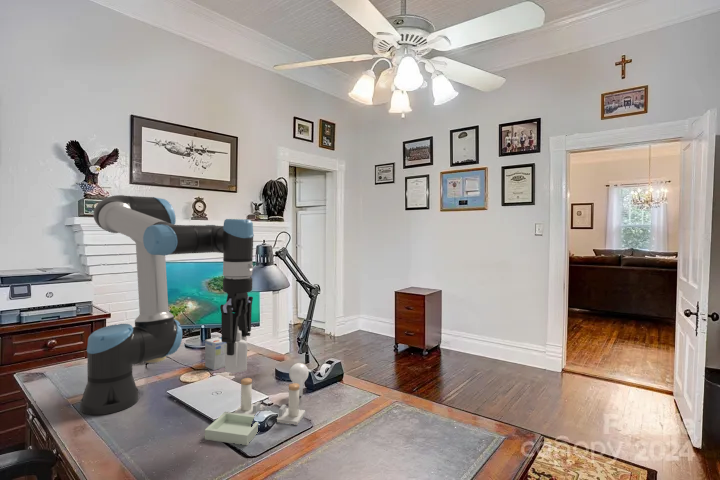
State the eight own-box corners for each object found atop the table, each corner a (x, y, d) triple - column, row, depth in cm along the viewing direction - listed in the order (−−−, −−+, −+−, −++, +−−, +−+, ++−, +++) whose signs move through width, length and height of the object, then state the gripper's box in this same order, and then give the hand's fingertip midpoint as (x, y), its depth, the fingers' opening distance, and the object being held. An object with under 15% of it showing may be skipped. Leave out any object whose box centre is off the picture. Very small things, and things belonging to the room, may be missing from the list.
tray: (204, 439, 102) (204, 429, 102) (224, 420, 112) (225, 411, 112) (247, 445, 100) (247, 435, 100) (263, 425, 110) (264, 416, 110)
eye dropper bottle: (231, 366, 108) (232, 323, 107) (249, 368, 107) (250, 325, 106) (222, 372, 104) (223, 327, 103) (241, 374, 102) (242, 329, 102)
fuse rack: (232, 416, 114) (233, 383, 114) (243, 405, 121) (244, 374, 121) (297, 425, 110) (298, 391, 110) (305, 413, 117) (306, 381, 117)
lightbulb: (304, 401, 125) (305, 368, 125) (285, 399, 126) (286, 366, 126) (310, 393, 131) (311, 361, 131) (292, 391, 132) (293, 359, 132)
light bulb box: (227, 359, 161) (227, 333, 160) (237, 363, 157) (238, 336, 157) (204, 366, 152) (204, 339, 152) (214, 370, 148) (214, 342, 148)
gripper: (234, 282, 95) (233, 376, 96) (264, 273, 112) (263, 353, 113) (206, 280, 96) (205, 373, 97) (240, 272, 113) (239, 351, 114)
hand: (236, 362), depth 105 cm, fingers closed on eye dropper bottle, 4 cm apart
